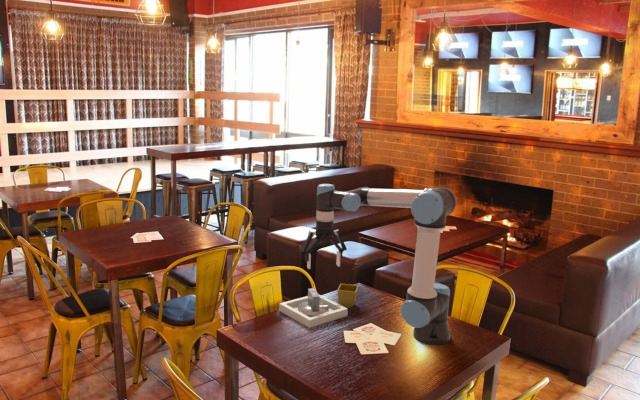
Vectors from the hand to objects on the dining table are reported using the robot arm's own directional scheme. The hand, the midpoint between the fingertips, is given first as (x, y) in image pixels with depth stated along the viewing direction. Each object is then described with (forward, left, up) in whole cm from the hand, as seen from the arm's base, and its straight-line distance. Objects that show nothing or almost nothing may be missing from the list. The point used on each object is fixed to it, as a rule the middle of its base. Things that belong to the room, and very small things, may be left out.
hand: (323, 267), depth 249 cm
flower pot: (+3, -18, -24) cm, 30 cm away
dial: (+5, +1, -22) cm, 22 cm away
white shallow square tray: (+5, +1, -23) cm, 24 cm away
